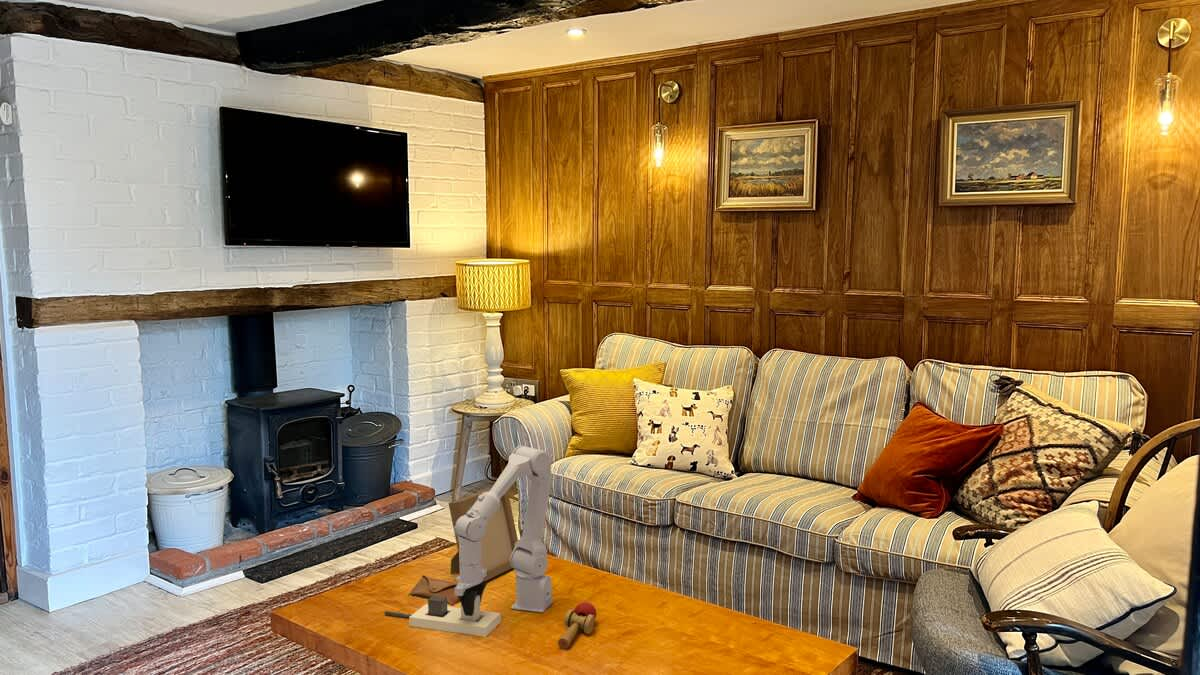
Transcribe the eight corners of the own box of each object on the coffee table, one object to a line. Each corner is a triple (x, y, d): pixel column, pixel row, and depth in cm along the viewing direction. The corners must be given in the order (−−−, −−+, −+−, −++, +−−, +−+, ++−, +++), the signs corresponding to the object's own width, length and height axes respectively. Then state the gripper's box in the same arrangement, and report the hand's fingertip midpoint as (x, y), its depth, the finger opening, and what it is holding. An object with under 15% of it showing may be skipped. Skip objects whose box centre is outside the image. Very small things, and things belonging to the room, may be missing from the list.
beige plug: (480, 617, 230) (479, 595, 229) (475, 622, 227) (474, 599, 227) (466, 615, 231) (465, 593, 231) (461, 620, 228) (460, 597, 228)
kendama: (581, 656, 215) (605, 617, 231) (575, 633, 214) (599, 595, 230) (553, 657, 218) (578, 618, 234) (547, 634, 217) (573, 597, 233)
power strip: (500, 622, 232) (500, 598, 231) (485, 636, 223) (485, 612, 223) (394, 608, 242) (393, 585, 241) (376, 621, 233) (375, 597, 233)
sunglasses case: (404, 595, 251) (411, 571, 253) (418, 599, 257) (425, 576, 259) (455, 606, 242) (462, 582, 245) (468, 610, 248) (475, 587, 251)
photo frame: (522, 565, 273) (520, 487, 271) (476, 588, 255) (473, 504, 252) (486, 557, 281) (484, 480, 279) (438, 578, 263) (435, 497, 261)
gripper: (469, 551, 236) (470, 600, 237) (443, 569, 222) (444, 621, 223) (493, 553, 233) (494, 603, 235) (468, 572, 220) (469, 625, 221)
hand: (471, 612), depth 229 cm, fingers closed on beige plug, 3 cm apart
